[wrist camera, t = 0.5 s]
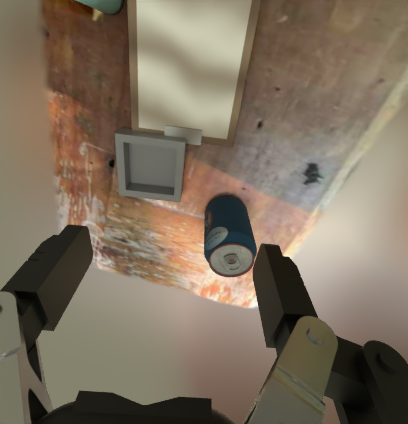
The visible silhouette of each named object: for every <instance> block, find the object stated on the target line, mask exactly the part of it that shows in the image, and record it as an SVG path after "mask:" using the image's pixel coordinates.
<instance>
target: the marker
mask: <svg viewBox="0 0 408 424" xmlns="http://www.w3.org/2000/svg"><path fill="white" fill-rule="evenodd" d="M76 1H79V2H81V3H83V4H85V5H88V6H90V7H92V8H94V9H97V10H99V11H101V12H103V13H106V14H117V13H118V12H120V10H121V9H122V6H123V0H76Z"/></svg>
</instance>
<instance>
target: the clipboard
mask: <svg viewBox="0 0 408 424" xmlns="http://www.w3.org/2000/svg"><path fill="white" fill-rule="evenodd" d="M260 4H261V0H127V5H128V33H129V62H130V91H131V120H132V130H136V131H144V132H151V133H159V134H164V136H172V137H179V138H186V144H193V145H201V143H207V144H214V145H222V146H229V147H233V142H234V136H235V131H236V126H237V121H238V116H239V111H240V106H241V101H242V96H243V91H244V86H245V81H246V75H247V70H248V65H249V60H250V55H251V50H252V45H253V40H254V35H255V30H256V25H257V20H258V14H259V9H260Z"/></svg>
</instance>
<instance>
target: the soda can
mask: <svg viewBox="0 0 408 424" xmlns="http://www.w3.org/2000/svg"><path fill="white" fill-rule="evenodd" d="M256 252H257V248H256V243H255V240H254V236H253V232H252V228H251V224H250V220H249V216H248V213H247V209H246V207H245V205H244V204H243V202H241V201H240V200H239V199H237V198H234V197H230V196H223V197H219V198H216V199H214V200H213V201H212V202H210V203H209V205H208V206H207V208H206V210H205V232H204V255H205V258H206V260H207V261H208V263H209V265H210V268H211V269H212V270H213V271H214V272H215V273H216V274H218V275H220V276H224V277H237V276H241V275H243V274H245V273H247V272H248V271H249V270H250V269H251V268H252V266H253V264H254V258H255V256H256Z"/></svg>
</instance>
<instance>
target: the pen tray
mask: <svg viewBox="0 0 408 424" xmlns="http://www.w3.org/2000/svg"><path fill="white" fill-rule="evenodd" d="M115 145H116V158H117V172H118V186H119V195H122V196H131V197H140V198H148V199H157V200H166V201H174V202H180V201H181V195H182V187H183V176H184V165H185V154H186V138H179V137H172V136H164V134H159V133H151V132H144V131H136V130H132V129H130V128H123V127H122V128H121V129H119V130H118V131H117V132H116V133H115Z"/></svg>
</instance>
